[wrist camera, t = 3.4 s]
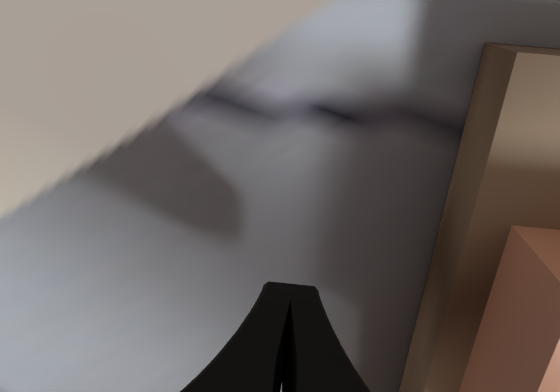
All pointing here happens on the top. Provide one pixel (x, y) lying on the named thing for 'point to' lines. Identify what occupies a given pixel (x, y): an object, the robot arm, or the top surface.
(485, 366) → the block
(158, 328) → the top surface
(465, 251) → the brown wooden board
